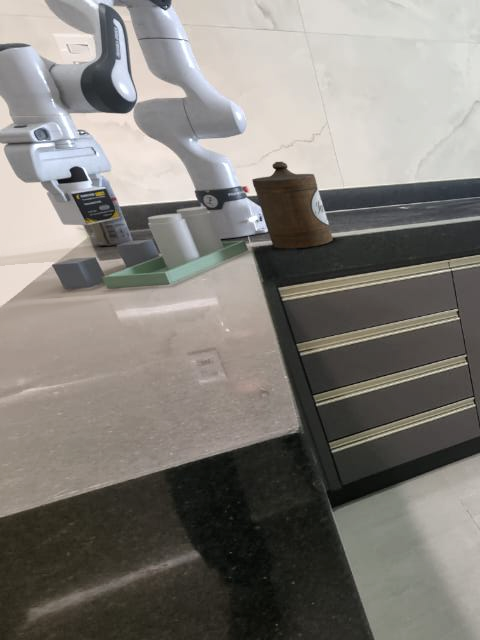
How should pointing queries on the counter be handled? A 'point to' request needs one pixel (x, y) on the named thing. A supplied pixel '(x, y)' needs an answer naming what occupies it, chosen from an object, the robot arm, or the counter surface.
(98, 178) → the robot arm
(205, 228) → the white bottle
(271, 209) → the wooden container
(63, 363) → the counter surface
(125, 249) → the grey box
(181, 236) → the white bottle
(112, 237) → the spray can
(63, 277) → the grey box
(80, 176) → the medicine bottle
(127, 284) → the tray
